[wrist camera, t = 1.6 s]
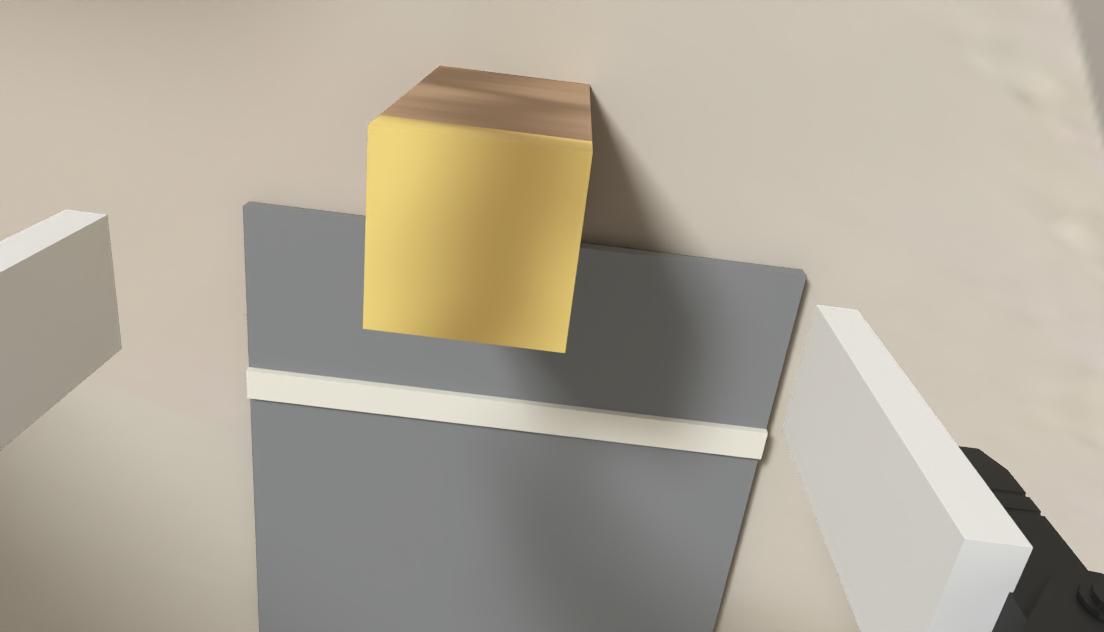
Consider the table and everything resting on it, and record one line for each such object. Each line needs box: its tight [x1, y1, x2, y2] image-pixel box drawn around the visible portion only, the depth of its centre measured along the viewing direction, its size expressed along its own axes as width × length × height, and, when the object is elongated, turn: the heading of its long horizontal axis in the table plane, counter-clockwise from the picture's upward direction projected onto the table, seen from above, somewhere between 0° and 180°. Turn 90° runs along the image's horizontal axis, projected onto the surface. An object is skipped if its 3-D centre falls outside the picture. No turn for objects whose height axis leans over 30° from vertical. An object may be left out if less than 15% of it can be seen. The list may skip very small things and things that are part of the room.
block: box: [363, 66, 593, 353], centre depth 24 cm, size 5×5×10 cm
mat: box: [243, 202, 806, 632], centre depth 33 cm, size 20×20×1 cm
